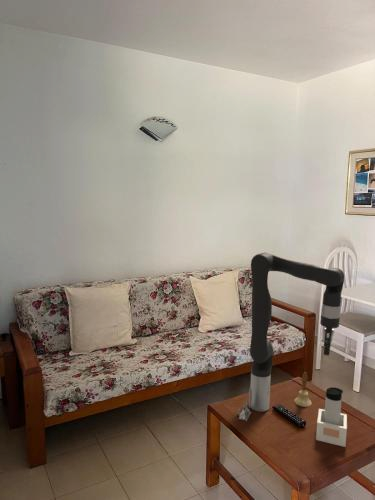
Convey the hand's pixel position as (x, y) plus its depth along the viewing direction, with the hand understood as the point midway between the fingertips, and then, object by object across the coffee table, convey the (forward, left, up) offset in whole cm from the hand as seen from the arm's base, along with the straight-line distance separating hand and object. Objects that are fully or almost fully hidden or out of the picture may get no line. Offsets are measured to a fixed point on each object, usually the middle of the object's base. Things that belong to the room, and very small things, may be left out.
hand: (327, 351), depth 163 cm
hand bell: (-10, +19, -36) cm, 42 cm away
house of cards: (-36, -4, -36) cm, 51 cm away
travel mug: (+4, -4, -35) cm, 35 cm away
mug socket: (+4, -4, -36) cm, 36 cm away
